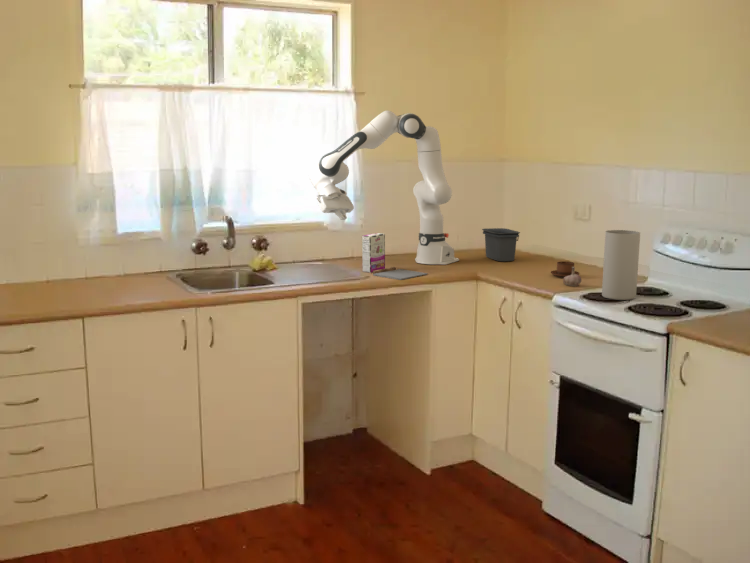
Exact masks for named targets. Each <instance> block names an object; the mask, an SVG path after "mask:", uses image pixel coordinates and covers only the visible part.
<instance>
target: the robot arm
mask: <svg viewBox="0 0 750 563" xmlns="http://www.w3.org/2000/svg"><path fill="white" fill-rule="evenodd" d="M397 133H398V134H399V135H401V136H403V137H404V138H410V139H414V141H415V144H416V147H417V148H416V152H417V163H418V170H419V171H420V173H421V175H422V178H423V179H422V180H419V181H417V182H416V184H414V186H413V190H412V193H413V195H414V197H415V200H416V202H417V208H418V213H419V233H418V241H419V242H418V244H417V249H416V257H415V258H414V260H415V263H418V264H422V265H449V264H453V263H455V262H458V261H460V259H459V258H458V257H456V256H455V250H454V247H453V246H452V245H450V244H449V243H448V241H446V238H449V236H450V234H449V233H446V232H445V233H444V215H443V213H442V211H441V208H440V207H441V206H440V205H444V204H446V203H448V202H449V201H450V200H451V198H452V196H453V190H452V188H451V186H450V185H449V183H448V181H447V178H446V174H445V172H444V171H445V170H444V168H443V157H442V147H441V140H440V135H439V132H438V129H437V128H435V127H434V126H431V125H428V126H427V125H425V123H424V122H423V121H422V119H421V118H420V116H419V115H417V114H416V113H411V112H407V113H403V114H400V115H397V114H396V113H394V112H393V111H391V110H388V109H387V110H384V111H382V112H381V113H379V114H377V115H376V116H375V117H374V118H373V119H372V120H371V121H369V122H368V123H367V124H366V125H365V126H364V127H362V129H360V130H359V131H357V132H356V133H354V134H352V136H350V137H349V138H347V139H346V140H345V141H344V142H343V143H342V144H341V145H339V146H338V147H336V149H335V148H334V150H332V151H331V152H328V153H326V154H324V155H322V156H321V158H320V160H319V162H318V163H314V164H313V165H312V166H311V167H310V168H309V170H308V176H309V180H310V182H311V184H312V185H313V188H315V190H316V191H317V195H316V200H317V204H318V206H319V208H320V210H321V212H322V213H324V214H335V216H337V217H338V218H339V219H340V220H344V221H346V220H347V219H348V217H347V215H346V214H350V213H351V212H352V211H354V209H355V206H354V205H353V203H352V200H351V199H350V197H349V196H348V195H347V194H348V193H347V192H346V191H345V190H343V189H341V188H339V187H337V186H336V185H338V184H340V183H342V182H344V181H345V180H346V179H347V178H348V176H349V173H350V168H349V166H348V165H347V164H346V163H345V160H347V159H348V158H349V157H350V156H352V155H353V154H354V153H355V152H356V151H359V150H361V149H366V150H367V149H369V150H375V149H377V148H378V147H381V145H382V144H384V143H385V141H387V140H388V139H389V138H390V137H391V136H392V135H393V134H397Z"/></svg>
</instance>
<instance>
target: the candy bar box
mask: <svg viewBox="0 0 750 563" xmlns="http://www.w3.org/2000/svg"><path fill="white" fill-rule="evenodd" d="M361 242H362V243H361V246H362V247H361V251H362V252H361V253H362V255H361V256H362V261H361V262H362V268H361V269H362V273H363V272H364V273H373V271H375V270H380V269H386V234H385V233H383V232H382V233H380V232H377V233H376V232H375V233H371V234H370V233H369V234H365V235H362V236H361Z"/></svg>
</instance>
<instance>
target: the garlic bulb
mask: <svg viewBox="0 0 750 563" xmlns="http://www.w3.org/2000/svg"><path fill="white" fill-rule="evenodd" d="M575 271H576V270H575V266H574V267H572V274H571V275H569V276H566V277H564V278H562V282H563V284H564V285H566V286H570V287H571V286H572V287H575V288H576V287H578V286H579V285H580V284H581V282H582V277H581V275H580V274H579V275H577V274H575Z"/></svg>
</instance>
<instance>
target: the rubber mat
mask: <svg viewBox="0 0 750 563" xmlns="http://www.w3.org/2000/svg"><path fill="white" fill-rule="evenodd" d="M427 274H428V275H429V273H428V272H423V271H421V272H420V271H415V270H408V269H402V268H396V270H392V271H386V272H381V273H375V274H373V273H372V276H375V277H380V278H388V279H393V280H398V281H402V280H407V279H413V278H416V277H417V276H419V277H423V276H422V275H424V276H428V275H427ZM417 278H418V277H417Z"/></svg>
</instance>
